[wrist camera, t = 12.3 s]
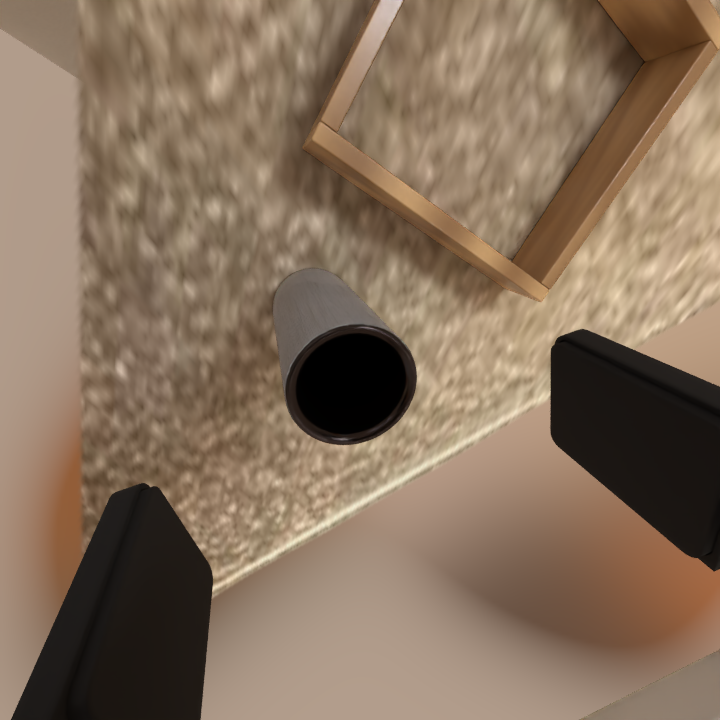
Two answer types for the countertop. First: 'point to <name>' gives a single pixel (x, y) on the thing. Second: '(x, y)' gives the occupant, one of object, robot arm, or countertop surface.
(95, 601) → the robot arm
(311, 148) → the wooden square frame
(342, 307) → the planter
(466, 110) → the countertop surface
